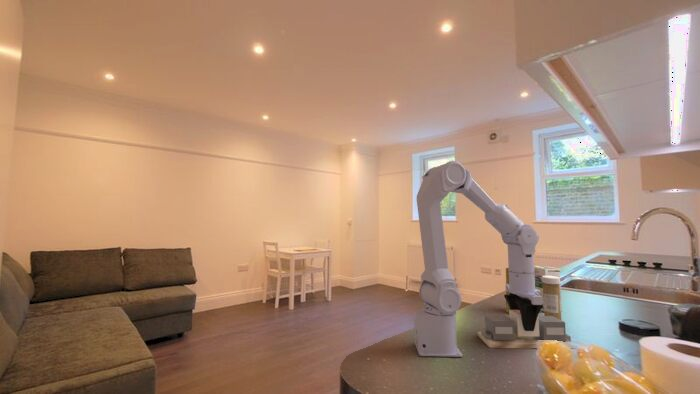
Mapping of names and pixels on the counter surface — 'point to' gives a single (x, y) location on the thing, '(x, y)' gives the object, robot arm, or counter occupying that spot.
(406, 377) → the counter surface
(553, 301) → the sprinkles bottle
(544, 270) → the syrup box
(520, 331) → the block
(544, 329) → the board
